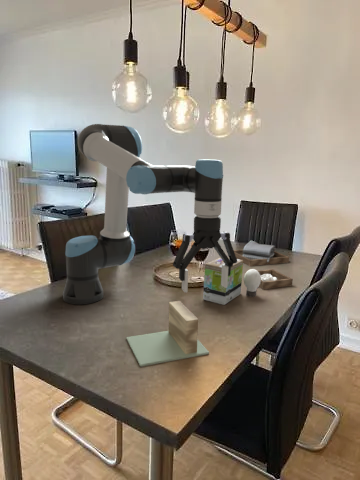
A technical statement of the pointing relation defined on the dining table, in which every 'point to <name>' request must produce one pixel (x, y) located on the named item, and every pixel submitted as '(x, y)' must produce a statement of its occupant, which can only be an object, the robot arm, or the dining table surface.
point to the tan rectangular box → (183, 327)
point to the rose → (267, 277)
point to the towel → (258, 251)
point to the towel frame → (278, 259)
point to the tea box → (213, 282)
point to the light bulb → (252, 282)
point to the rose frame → (280, 282)
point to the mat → (159, 348)
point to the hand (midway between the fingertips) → (204, 288)
